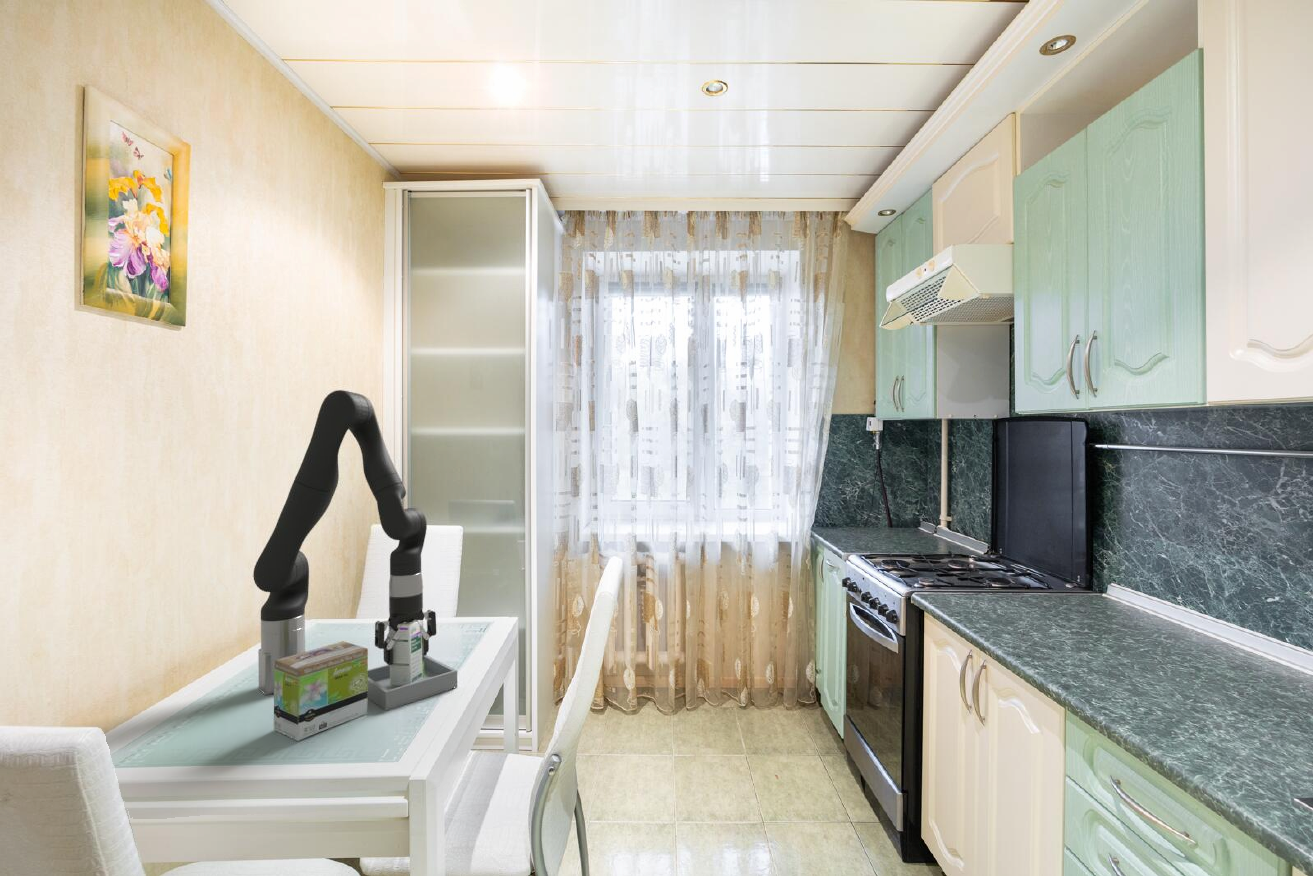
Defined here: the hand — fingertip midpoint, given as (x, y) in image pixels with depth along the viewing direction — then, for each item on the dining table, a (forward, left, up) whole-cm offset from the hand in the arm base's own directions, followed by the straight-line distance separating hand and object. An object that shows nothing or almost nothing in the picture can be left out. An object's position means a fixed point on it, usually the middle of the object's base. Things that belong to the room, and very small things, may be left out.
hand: (406, 659), depth 146 cm
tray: (0, 0, -7) cm, 7 cm away
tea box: (-20, -4, -7) cm, 22 cm away
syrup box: (0, 0, -5) cm, 5 cm away
